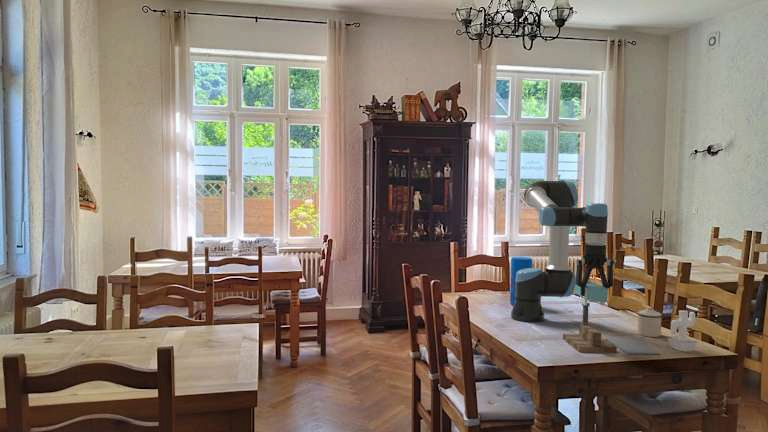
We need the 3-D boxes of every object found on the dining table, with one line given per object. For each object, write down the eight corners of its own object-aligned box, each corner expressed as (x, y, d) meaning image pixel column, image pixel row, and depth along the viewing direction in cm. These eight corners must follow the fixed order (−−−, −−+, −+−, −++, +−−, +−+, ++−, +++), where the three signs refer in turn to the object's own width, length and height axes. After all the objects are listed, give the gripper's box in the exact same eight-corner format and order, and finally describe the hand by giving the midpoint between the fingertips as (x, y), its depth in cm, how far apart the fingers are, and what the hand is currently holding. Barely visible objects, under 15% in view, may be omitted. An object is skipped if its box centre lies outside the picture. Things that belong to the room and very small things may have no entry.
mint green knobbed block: (575, 293, 213) (575, 280, 213) (590, 293, 213) (590, 281, 213) (590, 301, 197) (591, 288, 197) (607, 302, 197) (607, 288, 197)
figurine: (664, 347, 205) (665, 308, 205) (685, 346, 207) (687, 308, 206) (677, 353, 198) (679, 313, 198) (699, 352, 200) (701, 312, 199)
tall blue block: (533, 305, 281) (535, 257, 280) (527, 308, 272) (528, 259, 271) (513, 302, 287) (514, 256, 286) (506, 305, 278) (508, 258, 277)
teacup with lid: (666, 337, 220) (667, 309, 220) (645, 337, 219) (646, 309, 219) (648, 329, 232) (649, 303, 232) (628, 330, 231) (629, 303, 231)
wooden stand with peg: (562, 338, 216) (563, 300, 215) (597, 339, 216) (598, 300, 215) (578, 351, 198) (580, 310, 197) (616, 352, 198) (617, 310, 197)
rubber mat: (604, 339, 216) (604, 337, 216) (634, 339, 216) (634, 338, 216) (627, 354, 196) (627, 352, 196) (659, 354, 196) (659, 353, 196)
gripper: (574, 244, 197) (572, 306, 199) (625, 245, 197) (623, 307, 199) (567, 242, 205) (565, 302, 206) (616, 243, 205) (614, 303, 206)
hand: (593, 304), depth 202 cm, fingers closed on mint green knobbed block, 6 cm apart
